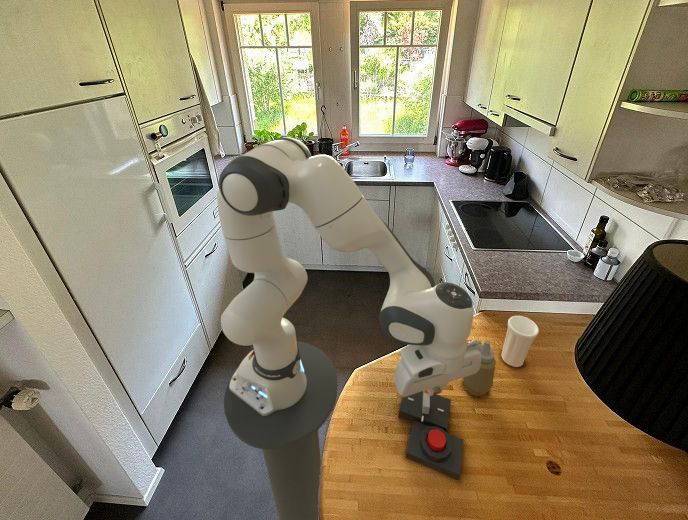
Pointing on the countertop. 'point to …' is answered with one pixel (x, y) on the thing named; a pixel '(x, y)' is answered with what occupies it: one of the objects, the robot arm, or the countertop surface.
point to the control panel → (437, 411)
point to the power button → (436, 440)
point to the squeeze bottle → (482, 373)
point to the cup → (518, 340)
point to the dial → (426, 402)
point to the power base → (439, 461)
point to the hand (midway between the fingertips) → (434, 391)
